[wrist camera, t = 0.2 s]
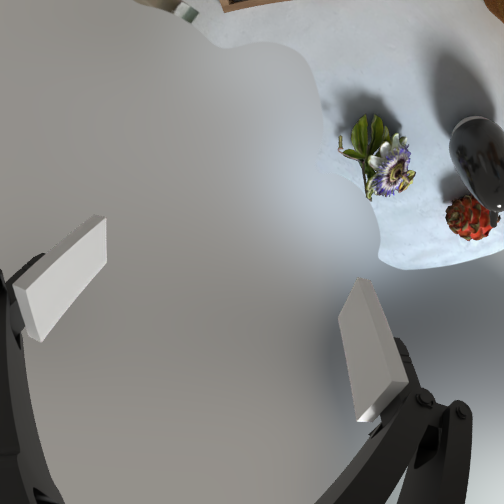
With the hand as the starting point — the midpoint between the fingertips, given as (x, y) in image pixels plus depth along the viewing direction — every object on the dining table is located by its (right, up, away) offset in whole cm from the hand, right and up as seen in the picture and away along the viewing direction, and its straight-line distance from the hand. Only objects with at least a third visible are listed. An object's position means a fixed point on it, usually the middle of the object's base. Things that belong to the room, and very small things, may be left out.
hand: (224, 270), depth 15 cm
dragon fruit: (+42, +10, +30) cm, 52 cm away
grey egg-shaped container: (+35, +19, +19) cm, 44 cm away
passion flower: (+21, +18, +28) cm, 39 cm away
